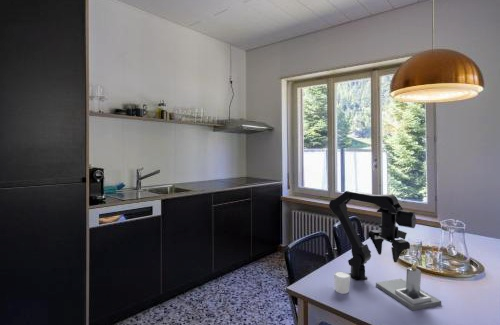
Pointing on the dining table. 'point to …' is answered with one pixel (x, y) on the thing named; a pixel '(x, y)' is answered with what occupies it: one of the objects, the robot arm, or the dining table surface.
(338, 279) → the shot glass
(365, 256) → the robot arm
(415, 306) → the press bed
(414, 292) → the gold-capped silver bottle
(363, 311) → the dining table surface
